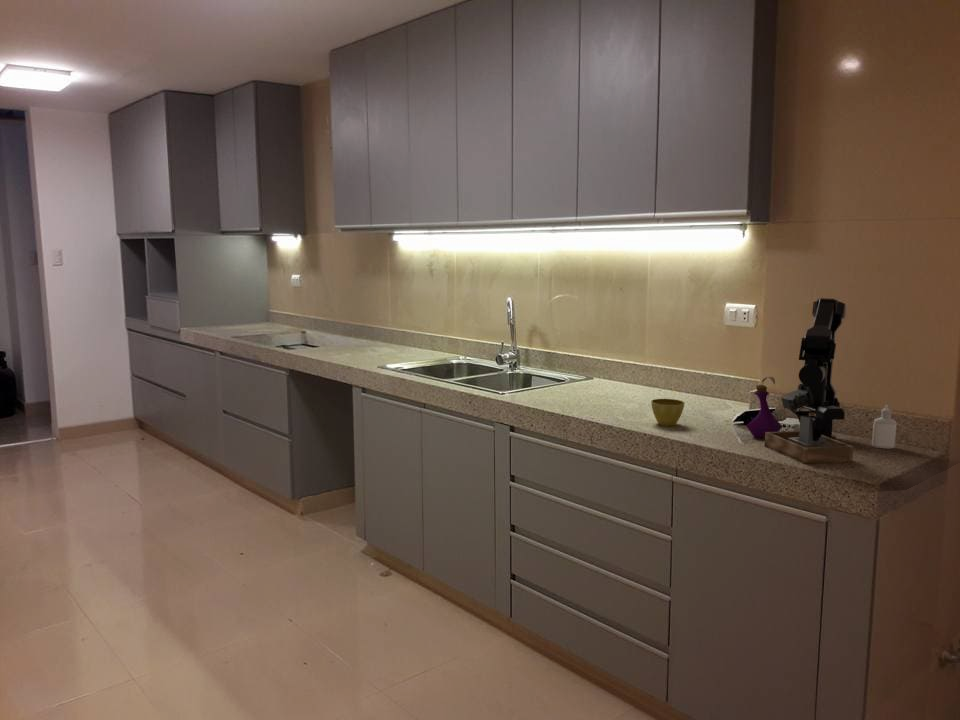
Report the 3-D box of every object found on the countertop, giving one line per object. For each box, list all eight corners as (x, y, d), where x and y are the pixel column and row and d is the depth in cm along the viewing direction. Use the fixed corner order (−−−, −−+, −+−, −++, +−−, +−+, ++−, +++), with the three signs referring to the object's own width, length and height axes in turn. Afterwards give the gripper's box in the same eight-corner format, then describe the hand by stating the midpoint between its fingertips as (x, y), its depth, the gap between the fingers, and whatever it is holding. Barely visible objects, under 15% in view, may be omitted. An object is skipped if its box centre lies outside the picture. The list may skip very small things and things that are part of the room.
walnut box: (764, 446, 215) (765, 432, 215) (809, 444, 218) (810, 430, 218) (804, 463, 198) (805, 448, 197) (852, 461, 201) (853, 446, 200)
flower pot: (660, 428, 235) (661, 405, 234) (644, 421, 245) (645, 399, 244) (689, 427, 238) (690, 404, 237) (673, 420, 247) (674, 398, 246)
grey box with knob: (798, 444, 208) (800, 412, 207) (811, 444, 209) (814, 411, 208) (807, 448, 204) (810, 415, 203) (821, 448, 205) (823, 414, 204)
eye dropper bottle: (891, 450, 213) (895, 407, 211) (869, 446, 216) (873, 404, 215) (896, 447, 216) (900, 405, 214) (874, 444, 220) (878, 402, 218)
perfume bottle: (745, 436, 226) (749, 376, 224) (757, 432, 231) (761, 373, 229) (770, 441, 221) (774, 379, 218) (781, 437, 226) (786, 376, 224)
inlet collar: (787, 448, 210) (787, 437, 209) (813, 447, 212) (814, 436, 211) (805, 456, 202) (806, 445, 202) (832, 455, 204) (833, 443, 203)
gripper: (767, 376, 212) (763, 431, 214) (809, 388, 193) (804, 449, 196) (803, 375, 214) (799, 430, 216) (848, 387, 196) (843, 447, 198)
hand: (810, 438), depth 206 cm, fingers closed on grey box with knob, 4 cm apart
